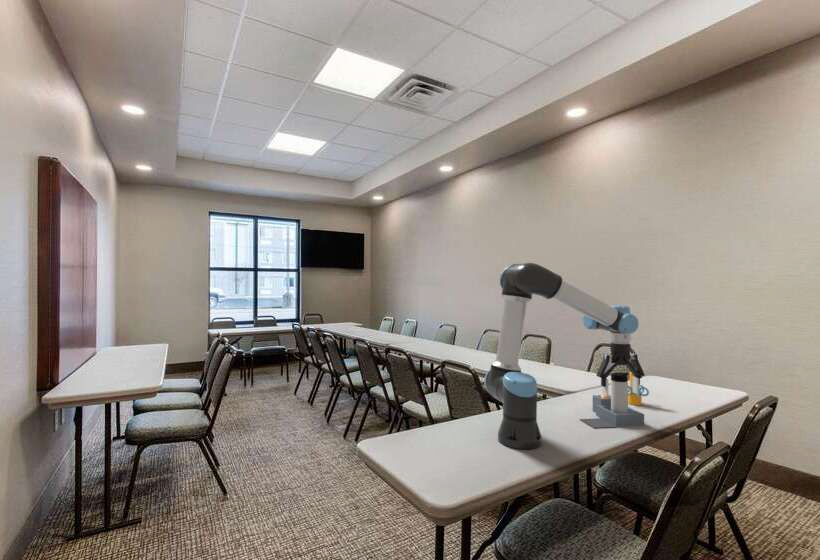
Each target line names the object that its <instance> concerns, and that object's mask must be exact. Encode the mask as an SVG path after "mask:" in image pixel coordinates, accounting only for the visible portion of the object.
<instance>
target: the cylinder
mask: <svg viewBox="0 0 820 560" xmlns="http://www.w3.org/2000/svg"><path fill="white" fill-rule="evenodd" d="M632 377H635V376H634V375H633V374H632V372H631V371H629V385H628V405H631V406H641V405H642V403H643V401H642V399H643V398H642V397H647V396H648V395H649V394H650V390H649V389H648V388H647V387H645V386H644V385H642V384H640V385H639V394H636V393H633V384H632ZM644 391H646V393H645V394H643V393H644Z"/></svg>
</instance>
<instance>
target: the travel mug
mask: <svg viewBox="0 0 820 560" xmlns="http://www.w3.org/2000/svg"><path fill="white" fill-rule="evenodd" d="M628 376H630V373H629V372H611V373H610V396H611V411H612V412H614V413H616V414H628V407H629V404H628V386H629V384H628V383H629V382H628V379H629V378H628Z"/></svg>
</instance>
